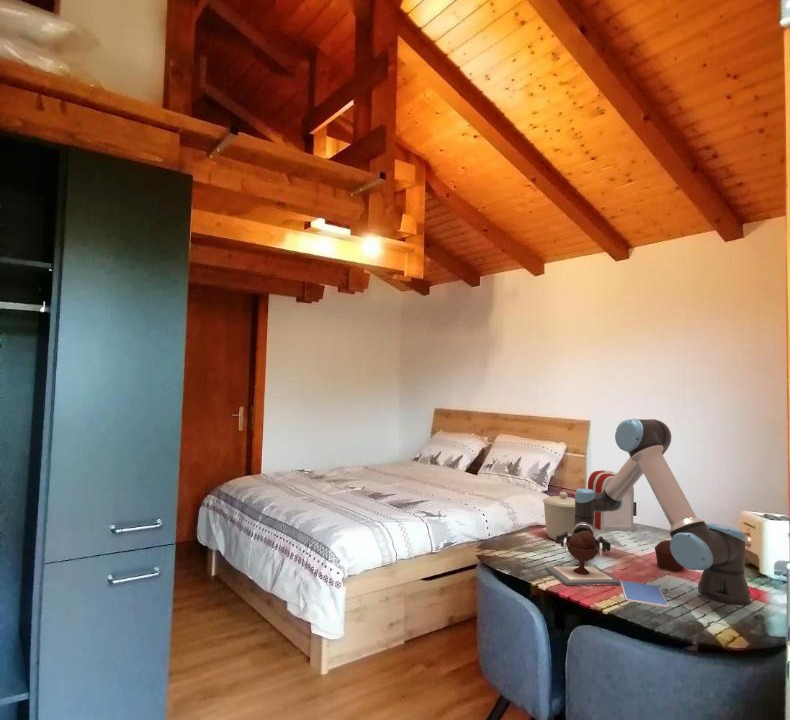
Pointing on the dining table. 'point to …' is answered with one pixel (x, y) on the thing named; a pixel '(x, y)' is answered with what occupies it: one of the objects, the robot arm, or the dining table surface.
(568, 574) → the sheet
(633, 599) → the tablet computer
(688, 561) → the robot arm
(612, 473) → the striped arched panel rack
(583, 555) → the ice cream bowl
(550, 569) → the mat
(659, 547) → the muffin
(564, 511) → the canister
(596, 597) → the dining table surface
